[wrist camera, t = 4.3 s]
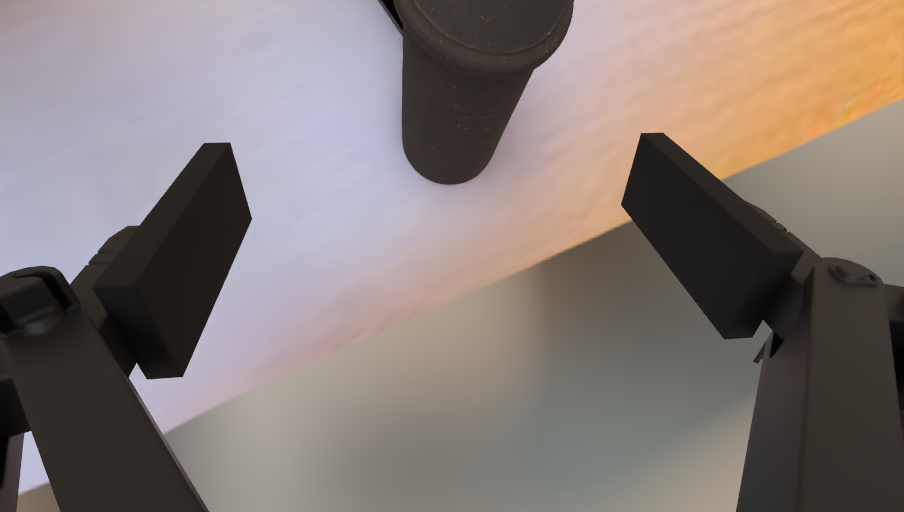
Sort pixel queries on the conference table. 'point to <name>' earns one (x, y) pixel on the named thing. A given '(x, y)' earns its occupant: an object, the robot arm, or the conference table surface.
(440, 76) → the container
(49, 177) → the conference table surface
